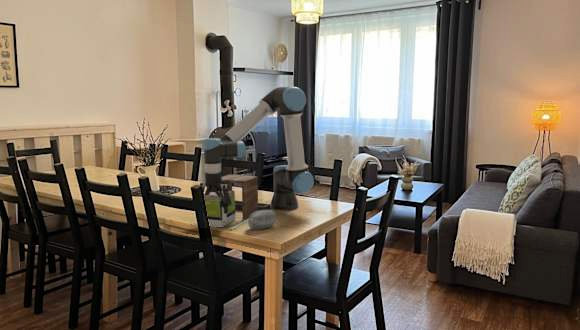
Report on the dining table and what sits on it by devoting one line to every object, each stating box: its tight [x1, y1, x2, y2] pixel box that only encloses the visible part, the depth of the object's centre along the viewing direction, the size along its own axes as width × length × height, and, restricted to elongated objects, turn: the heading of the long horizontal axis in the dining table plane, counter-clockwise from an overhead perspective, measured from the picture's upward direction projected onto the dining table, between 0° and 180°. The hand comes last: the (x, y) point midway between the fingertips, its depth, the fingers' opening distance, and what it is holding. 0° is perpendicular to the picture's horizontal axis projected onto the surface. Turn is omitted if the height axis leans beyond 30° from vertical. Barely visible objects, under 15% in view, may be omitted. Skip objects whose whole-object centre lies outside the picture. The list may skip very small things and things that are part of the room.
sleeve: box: [221, 174, 259, 221], centre depth 228 cm, size 16×14×19 cm
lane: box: [190, 219, 249, 230], centre depth 215 cm, size 23×16×1 cm
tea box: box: [203, 190, 237, 228], centre depth 214 cm, size 15×10×15 cm, turn 159°
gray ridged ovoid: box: [247, 209, 277, 231], centre depth 207 cm, size 14×10×10 cm
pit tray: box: [235, 199, 272, 211], centre depth 241 cm, size 22×7×3 cm, turn 66°
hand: (214, 219), depth 210 cm, fingers closed on tea box, 10 cm apart
